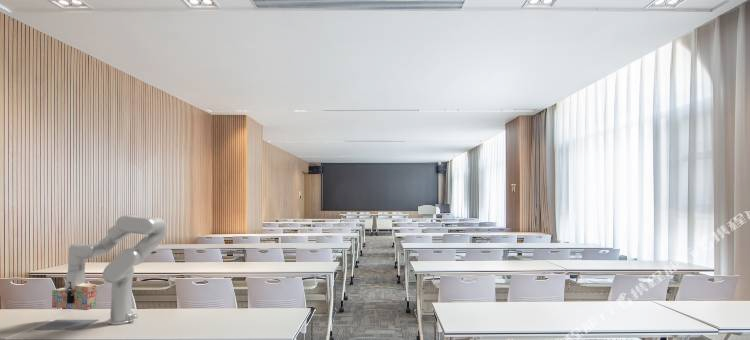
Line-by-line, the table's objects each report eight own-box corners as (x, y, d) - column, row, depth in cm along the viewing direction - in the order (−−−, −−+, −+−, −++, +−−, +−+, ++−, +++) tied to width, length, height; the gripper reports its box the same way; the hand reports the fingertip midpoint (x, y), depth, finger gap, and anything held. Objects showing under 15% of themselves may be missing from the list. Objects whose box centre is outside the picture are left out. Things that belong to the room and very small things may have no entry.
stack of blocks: (51, 307, 239) (52, 284, 240) (61, 304, 245) (62, 282, 246) (86, 310, 235) (87, 286, 236) (96, 307, 241) (97, 284, 242)
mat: (98, 320, 243) (98, 319, 243) (79, 329, 227) (79, 328, 227) (56, 320, 242) (56, 319, 242) (35, 329, 226) (35, 328, 226)
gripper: (79, 264, 250) (78, 297, 249) (58, 270, 232) (56, 305, 232) (93, 265, 250) (91, 297, 249) (73, 270, 233) (71, 305, 232)
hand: (74, 301), depth 240 cm, fingers closed on stack of blocks, 7 cm apart
